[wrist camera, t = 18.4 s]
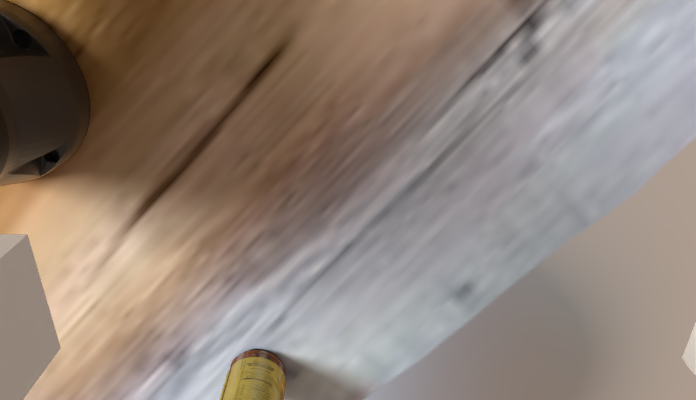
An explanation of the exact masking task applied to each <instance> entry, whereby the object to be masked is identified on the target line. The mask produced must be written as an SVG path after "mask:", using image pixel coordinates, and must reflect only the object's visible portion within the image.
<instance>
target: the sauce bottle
mask: <svg viewBox="0 0 696 400" xmlns="http://www.w3.org/2000/svg"><path fill="white" fill-rule="evenodd" d="M285 384H286V379H285V369H284V366H283V363H282V362H281V361H280V360H279V359H278V358H277V357H276V356H275V355H273V354H271V353H270V352H267V351H263V350H249V351H246V352H244V353H242V354H240V355H239V356H238V357H236V358H235V359H234V360H233V362H232V364H231V368H230V370H229V371H228V373H227V376H226V380H225V383H224V387H223V390H222V394H221V397H220V400H283V399H284V392H285Z"/></svg>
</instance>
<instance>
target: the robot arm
mask: <svg viewBox="0 0 696 400" xmlns="http://www.w3.org/2000/svg"><path fill="white" fill-rule="evenodd" d="M89 117H90V103H89V95H88V90H87V86H86V83H85V80H84V77H83V74H82V72H81V70H80V68H79V66H78V64H77V62H76V60H75V58H74V57H73V55H72V54H71V52H70V51H69V49H68V48H67V47H66V45H65V44H64V43H63V42H62V40H61V39H60V38H59V37H58V36H57V35H56V34H55V33H54V32H53V31H52V30H51V29H50V28H49V27H48V26H47V25H46V24H44V23H43V22H42V21H41V20H39V19H38V18H37V17H35V16H34V15H32V14H31V13H29V12H27V11H26V10H24V9H22V8H20V7H18V6H16V5H14V4H12V3H10V2H7V1H4V0H0V186H5V185H11V184H17V183H23V182H27V181H31V180H34V179H37V178H40V177H42V176H44V175H46V174H48V173H50V172H51V171H53V170H54V169H56V168H57V167H59V166H60V165H61V164H63V163H64V162H65V161H67V160H68V159H69V158H70V157H71V156H72V155H73V154H74V153H75V152H76V151H77V149H78V148H79V147H80V145H81V143H82V141H83V139H84V137H85V135H86V132H87V128H88V124H89ZM60 348H61V347H60V344H59V341H58V337H57V334H56V330H55V327H54V324H53V320H52V317H51V313H50V310H49V306H48V303H47V300H46V296H45V293H44V289H43V286H42V283H41V279H40V276H39V272H38V269H37V265H36V262H35V259H34V255H33V252H32V248H31V245H30V242H29V238H28V235H21V234H0V400H23V399H24V397H25V396H26V395H27V393H28V392H29V391H30V389H31V388H32V386H33V385H34V384H35V382H36V381H37V380H38V378H39V377H40V376H41V374H42V373H43V371H44V370H45V369H46V367H47V366H48V365H49V363H50V362H51V360H52V359H53V358H54V356H55V355H56V354H57V352H58V351H59V350H60ZM682 359H683V360H684V361H685V363H686V364H687V365H688V367H689V368H690V369H691V370H692V372H693V373H694V374H695V375H696V323H695V326H694V328H693V331H692V333H691V336H690V339H689V341H688V344H687V347H686V349H685V352H684V355H683V357H682Z"/></svg>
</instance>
